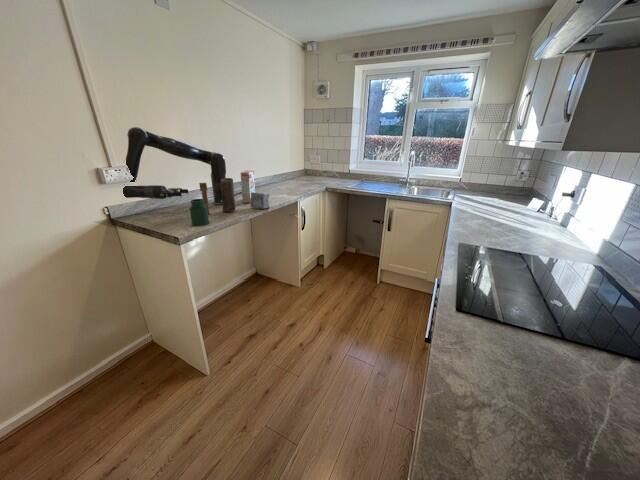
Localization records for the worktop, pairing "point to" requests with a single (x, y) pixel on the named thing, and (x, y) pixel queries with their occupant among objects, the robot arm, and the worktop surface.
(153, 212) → the worktop surface
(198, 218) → the bottle
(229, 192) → the candle
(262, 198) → the incense holder
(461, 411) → the worktop surface
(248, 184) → the cracker box
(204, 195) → the wooden spoon
